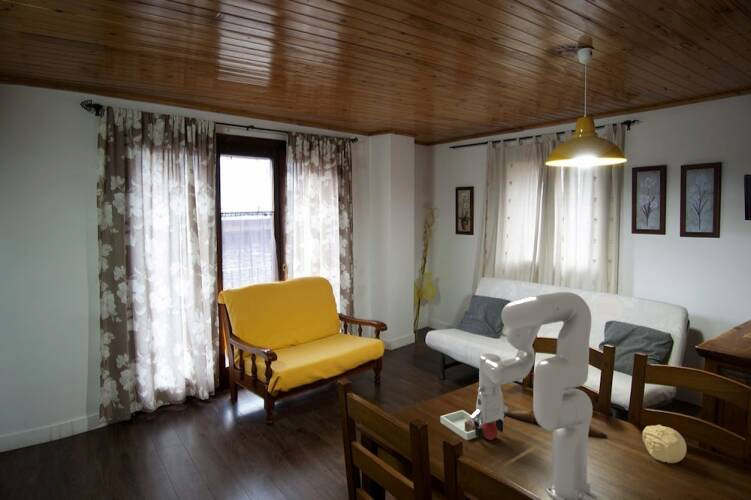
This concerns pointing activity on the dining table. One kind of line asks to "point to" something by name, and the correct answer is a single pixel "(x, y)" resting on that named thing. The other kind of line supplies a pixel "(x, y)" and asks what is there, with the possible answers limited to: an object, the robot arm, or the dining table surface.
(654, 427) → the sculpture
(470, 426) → the walnut block
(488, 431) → the onion
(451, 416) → the tray
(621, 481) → the dining table surface
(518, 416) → the bread
